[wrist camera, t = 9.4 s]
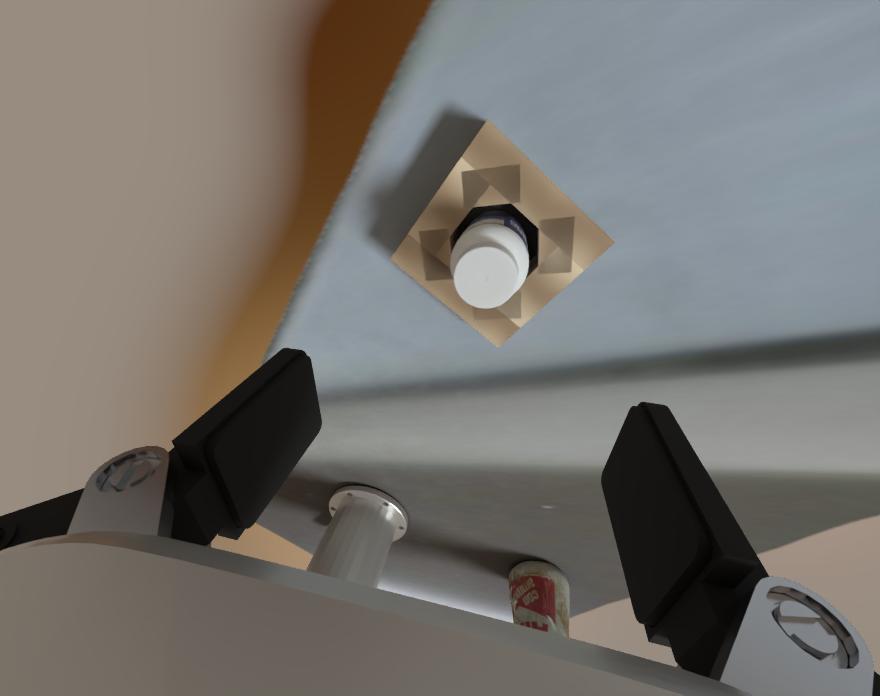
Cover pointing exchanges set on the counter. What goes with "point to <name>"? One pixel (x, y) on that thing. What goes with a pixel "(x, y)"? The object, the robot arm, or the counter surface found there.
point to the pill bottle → (490, 260)
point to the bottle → (540, 597)
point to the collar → (493, 183)
